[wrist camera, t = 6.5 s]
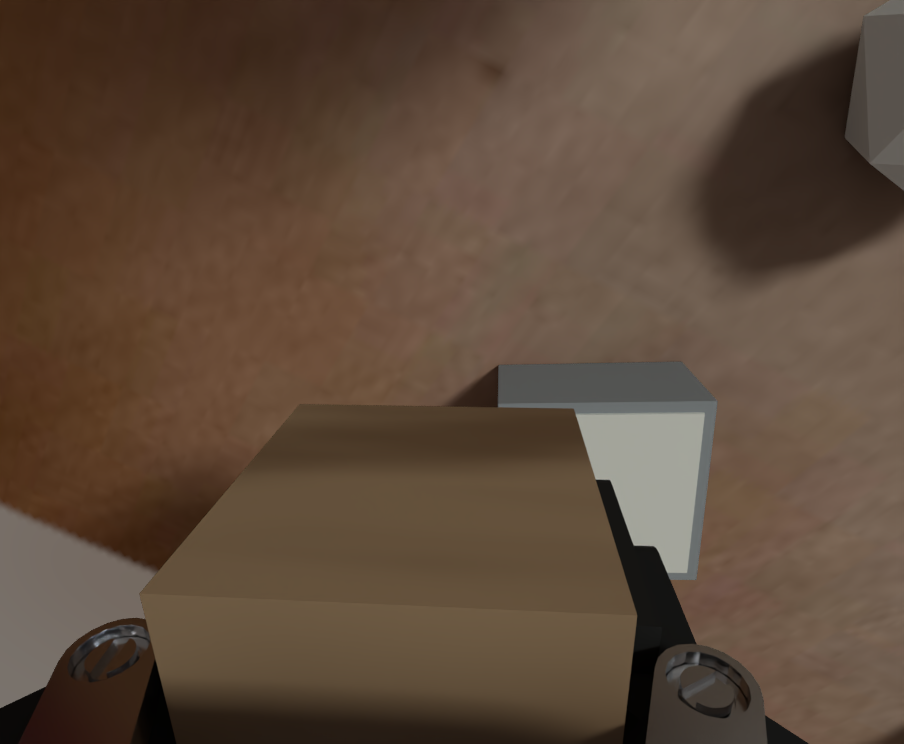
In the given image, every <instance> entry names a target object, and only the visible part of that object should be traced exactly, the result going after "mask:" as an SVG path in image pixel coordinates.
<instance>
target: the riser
mask: <svg viewBox="0 0 904 744" xmlns="http://www.w3.org/2000/svg"><path fill="white" fill-rule="evenodd" d="M498 407H509V408H572V409H574V411H575V414H576V417H577V420H578V424H579V427H580V430H581V433H582V437H583V440H584V443H585V446H586V450H587V453H588V456H589V459H590V463H591V466H592V469H593V473H594V476H595V479H596V480H610V481H611V483H612V486H613V489H614V491H615V494H616V497H617V500H618V503H619V506H620V508H621V511H622V514H623V517H624V520H625V523H626V525H627V528H628V531H629V534H630V537H631V540H632V542H633V545H634V546H654V547H655V548H656V549H657V550H658V552H659V554H660V557H661V559H662V562H663V564H664V566H665V569H666V571H667V574H668V576H669V579H674V580H696V578H697V569H698V561H699V553H700V544H701V536H702V527H703V519H704V510H705V502H706V494H707V485H708V477H709V468H710V460H711V451H712V443H713V435H714V426H715V418H716V409H717V400H716V399H715V398H714V397H713V396H712V395H711V393H710V392H709V391H708V390H707V389H706V388H705V387H704V386H703V385H702V384H701V382H700V381H699V380H698V379H697V378H696V377H695V376H694V375H693V374H692V373H691V372H690V370H689V369H688V368H687V367H686V366H685V365H684V364H683V363H682V362H640V363H585V364H530V365H499V369H498Z"/></svg>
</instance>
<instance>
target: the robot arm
mask: <svg viewBox="0 0 904 744" xmlns="http://www.w3.org/2000/svg"><path fill="white" fill-rule="evenodd" d="M596 482H597V486H598V489H599V492H600V495H601V499H602V502H603V505H604V508H605V512H606V515H607V518H608V522H609V525H610V528H611V531H612V535H613V538H614V541H615V544H616V548H617V551H618V554H619V557H620V561H621V564H622V567H623V570H624V574H625V577H626V580H627V584H628V587H629V590H630V593H631V597H632V600H633V603H634V606H635V610H636V613H637V623H636V631H635V640H634V649H633V657H632V666H631V675H630V683H629V692H628V701H627V709H626V718H625V726H624V735H623V744H808V743H807V742H805V741H804V740H802V739H801V738H799V737H798V736H796V735H795V734H793V733H791V732H790V731H788V730H787V729H785V728H784V727H782V726H781V725H779V724H778V723H776V722H775V721H773V720H771V719H770V718H768V717H767V716H765V711H764V700H763V696H762V693H761V689H760V686H759V685H758V683H757V682H756V680H755V679H754V677H753V676H752V674H751V673H750V672H749V671H748V670H747V669H746V668H745V667H744V666H743V665H742V664H741V663H739V662H738V661H737V660H735V659H733V658H732V657H730V656H729V655H727V654H725V653H724V652H721V651H719V650H716V649H713V648H711V647H708V646H702V645H697V644H696V642H695V639H694V637H693V635H692V632H691V630H690V627H689V625H688V622H687V620H686V618H685V615H684V613H683V610H682V608H681V605H680V603H679V600H678V598H677V596H676V593H675V591H674V588H673V586H672V583H671V581H670V579H669V576H668V574H667V571H666V569H665V566H664V564H663V562H662V559H661V557H660V554H659V552H658V550H657V549H656V548H655V547H654V546H634V545H633V542H632V540H631V537H630V534H629V531H628V528H627V525H626V523H625V520H624V517H623V514H622V511H621V508H620V506H619V503H618V500H617V497H616V494H615V491H614V489H613V486H612V483H611V481H610V480H596ZM0 744H176V740H175V736H174V732H173V728H172V724H171V720H170V716H169V711H168V707H167V703H166V699H165V695H164V691H163V687H162V683H161V679H160V675H159V671H158V667H157V663H156V659H155V655H154V651H153V647H152V643H151V639H150V635H149V631H148V627H147V623H146V619H140V618H128V619H121V620H117V621H113V622H110V623H107V624H104V625H102V626H100V627H98V628H96V629H93V630H91V631H90V632H88V633H87V634H85V635H84V636H82V637H81V638H79V639H78V640H77V641H75V642H74V643H73V644H72V645H71V646H70V647H69V648H68V649H67V650H66V651H65V653H64V654H63V656H62V657H61V658H60V660H59V661H58V663H57V665H56V667H55V669H54V672H53V674H52V676H51V678H50V680H49V682H48V684H47V686H46V687H44V688H42V689H40V690H38V691H36V692H34V693H32V694H30V695H28V696H25V697H23V698H21V699H19V700H17V701H15V702H13V703H10V704H8V705H6V706H4V707H2V708H0Z"/></svg>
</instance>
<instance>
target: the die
mask: <svg viewBox="0 0 904 744" xmlns="http://www.w3.org/2000/svg"><path fill="white" fill-rule="evenodd" d="M845 139H846V140H847V141H848V142H849V143H850V144H851V145H852V146H853V147H854V148H855V149H856V150H857V151H858V152H859V153H860V154H861V155H862V156H863V157H864V158H865V159H866V160H867V161H868V162H869V163H870V164H871V165H872V166H873V167H875V168H876V169H877V170H878V171H880V172H881V173H882V174H883V175H885V176H886V177H887V178H888V179H890V180H891V181H892V182H894V183H895V184H896V185H897V186H899V187H900V188H901V189H902V190H904V0H890V1H888V2H886V3H885V4H883V5H881V6H880V7H878V8H876V9H875V10H873V11H871V12H870V13H868V14H866V15H865V16H863V22H862V29H861V35H860V42H859V48H858V54H857V61H856V67H855V74H854V80H853V87H852V93H851V99H850V106H849V112H848V119H847V125H846V131H845Z"/></svg>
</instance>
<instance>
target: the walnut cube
mask: <svg viewBox="0 0 904 744" xmlns="http://www.w3.org/2000/svg"><path fill="white" fill-rule="evenodd" d="M140 598H141V602H142V606H143V610H144V614H145V618H146V623H147V627H148V631H149V635H150V639H151V643H152V647H153V651H154V655H155V659H156V663H157V667H158V671H159V675H160V679H161V683H162V687H163V691H164V695H165V699H166V703H167V707H168V711H169V716H170V720H171V724H172V728H173V732H174V736H175V740H176V744H623V735H624V726H625V718H626V709H627V701H628V692H629V683H630V675H631V666H632V657H633V649H634V640H635V631H636V623H637V613H636V610H635V606H634V603H633V600H632V597H631V593H630V590H629V587H628V584H627V580H626V577H625V574H624V570H623V567H622V564H621V561H620V557H619V554H618V551H617V548H616V544H615V541H614V538H613V535H612V531H611V528H610V525H609V522H608V518H607V515H606V512H605V508H604V505H603V502H602V499H601V495H600V492H599V489H598V486H597V482H596V479H595V476H594V473H593V469H592V466H591V463H590V459H589V456H588V453H587V450H586V446H585V443H584V440H583V437H582V433H581V430H580V427H579V424H578V420H577V417H576V414H575V411H574V409H572V408H509V407H445V406H382V405H319V404H300V405H299V406H298V407H297V408H296V409H295V410H294V412H293V413H292V414H291V415H290V416H289V418H288V419H287V420H286V421H285V422H284V423H283V425H282V426H281V427H280V428H279V429H278V430H277V432H276V433H275V434H274V435H273V436H272V438H271V439H270V440H269V441H268V442H267V443H266V445H265V446H264V447H263V448H262V449H261V451H260V452H259V453H258V454H257V455H256V456H255V458H254V459H253V460H252V461H251V462H250V464H249V465H248V466H247V467H246V468H245V469H244V471H243V472H242V473H241V474H240V475H239V477H238V478H237V479H236V480H235V481H234V482H233V484H232V485H231V486H230V487H229V488H228V490H227V491H226V492H225V493H224V494H223V495H222V497H221V498H220V499H219V500H218V501H217V503H216V504H215V505H214V506H213V507H212V508H211V510H210V511H209V512H208V513H207V514H206V516H205V517H204V518H203V519H202V520H201V521H200V523H199V524H198V525H197V526H196V527H195V529H194V530H193V531H192V532H191V533H190V534H189V536H188V537H187V538H186V539H185V540H184V542H183V543H182V544H181V545H180V546H179V547H178V549H177V550H176V551H175V552H174V553H173V554H172V556H171V557H170V558H169V559H168V560H167V562H166V563H165V564H164V565H163V566H162V567H161V569H160V570H159V571H158V572H157V573H156V575H155V576H154V577H153V578H152V579H151V581H150V582H149V583H148V584H147V585H146V586H145V588H144V589H143V590H142V591H141V592H140Z"/></svg>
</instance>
